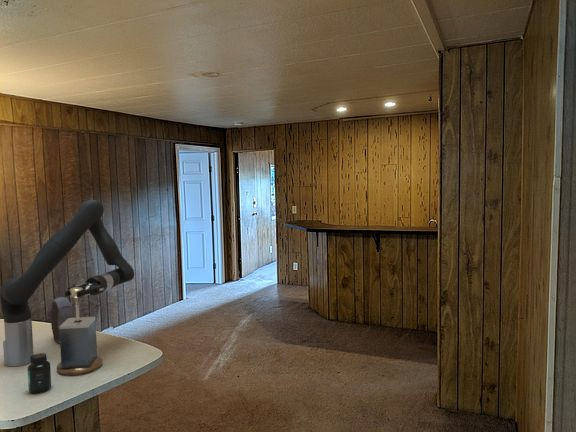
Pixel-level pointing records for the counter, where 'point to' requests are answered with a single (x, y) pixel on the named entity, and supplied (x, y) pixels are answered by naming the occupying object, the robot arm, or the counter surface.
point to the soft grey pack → (60, 315)
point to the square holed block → (78, 347)
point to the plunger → (76, 300)
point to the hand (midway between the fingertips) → (71, 294)
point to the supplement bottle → (39, 374)
